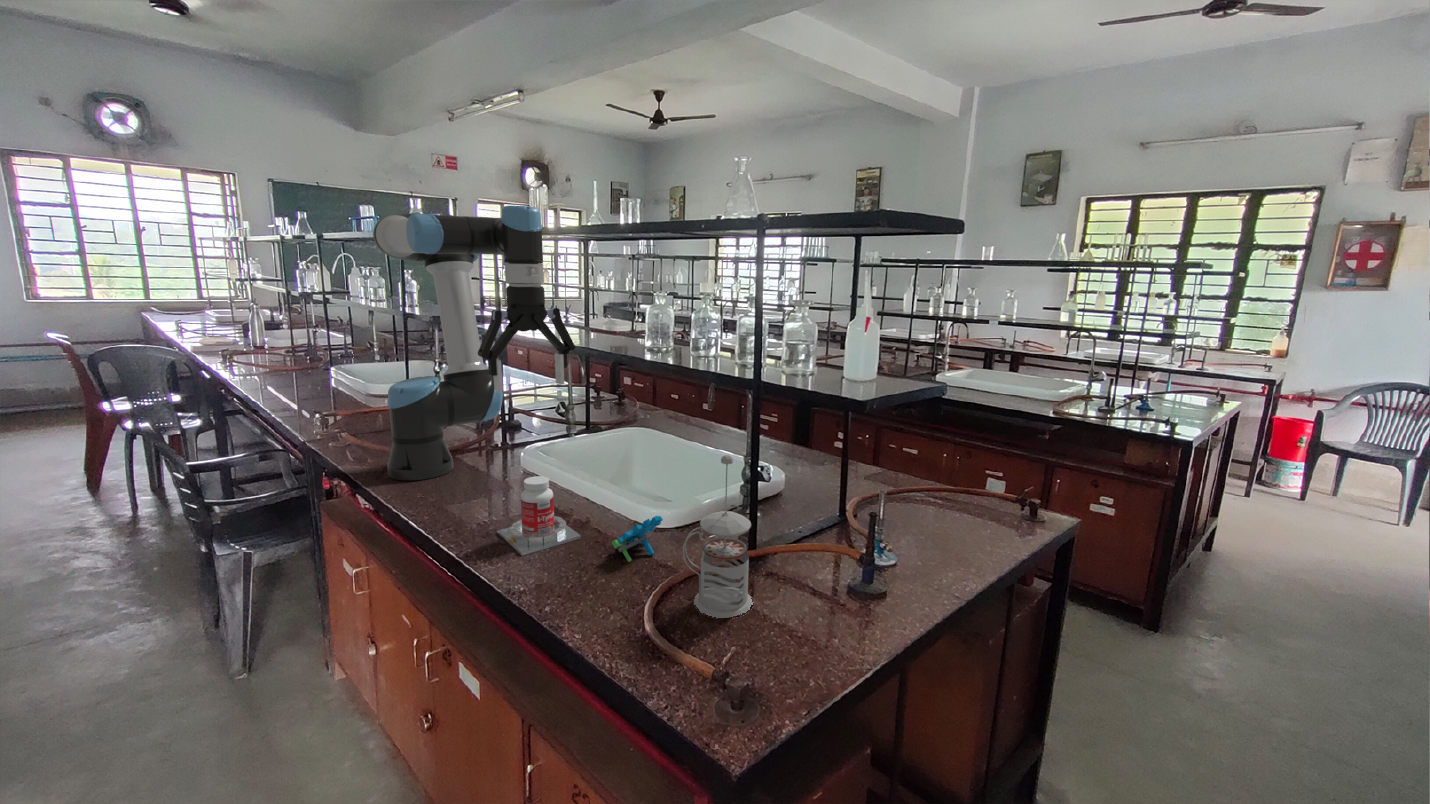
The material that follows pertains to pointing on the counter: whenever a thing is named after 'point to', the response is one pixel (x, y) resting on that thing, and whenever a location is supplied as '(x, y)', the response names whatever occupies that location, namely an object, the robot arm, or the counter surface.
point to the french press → (723, 563)
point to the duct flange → (538, 537)
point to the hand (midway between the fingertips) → (530, 387)
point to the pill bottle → (537, 506)
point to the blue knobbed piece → (637, 533)
